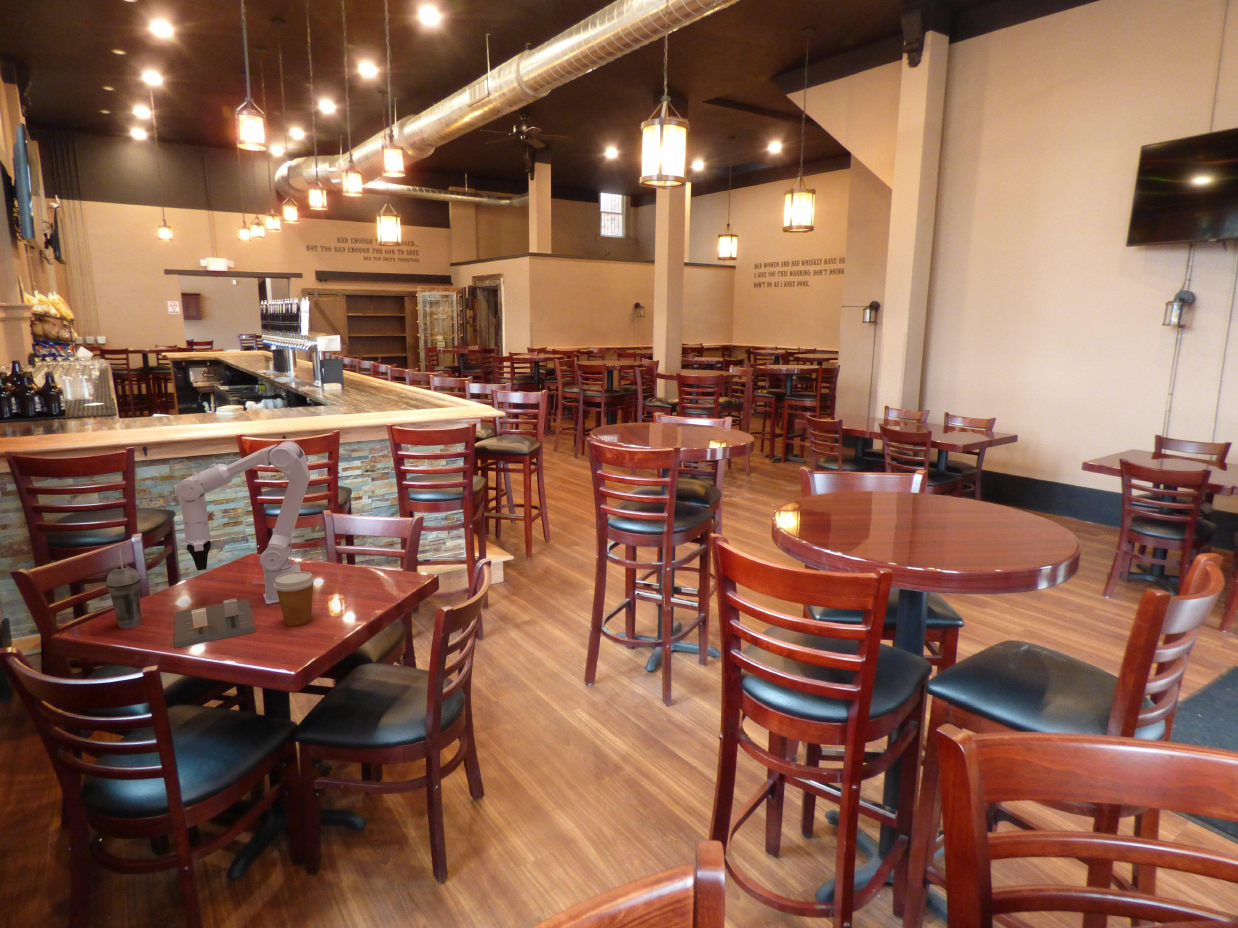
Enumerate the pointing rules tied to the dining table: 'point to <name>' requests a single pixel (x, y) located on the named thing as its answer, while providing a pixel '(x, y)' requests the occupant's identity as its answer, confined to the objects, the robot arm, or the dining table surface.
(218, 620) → the mixing console
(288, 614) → the disposable coffee cup
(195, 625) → the fader cap ivory
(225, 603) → the fader cap grey
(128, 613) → the beverage cup
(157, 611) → the dining table surface
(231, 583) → the dining table surface
